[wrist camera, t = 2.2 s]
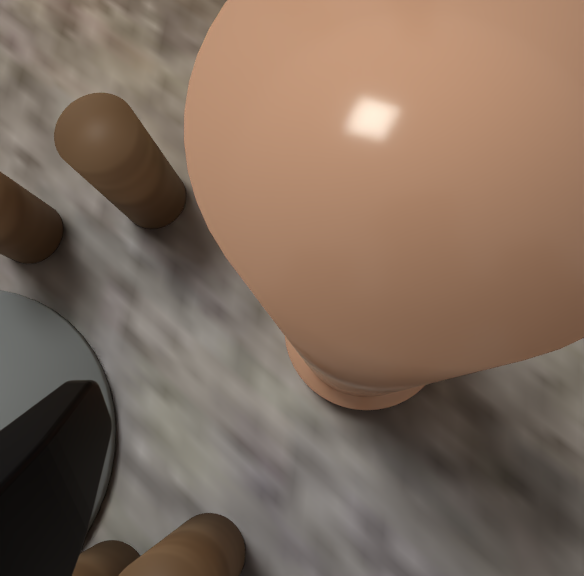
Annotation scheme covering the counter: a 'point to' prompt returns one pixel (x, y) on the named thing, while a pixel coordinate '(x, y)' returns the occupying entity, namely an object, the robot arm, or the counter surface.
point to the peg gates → (148, 214)
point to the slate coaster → (45, 365)
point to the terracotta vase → (397, 181)
